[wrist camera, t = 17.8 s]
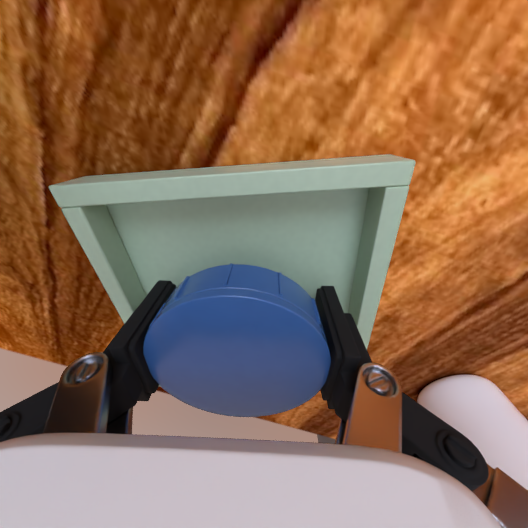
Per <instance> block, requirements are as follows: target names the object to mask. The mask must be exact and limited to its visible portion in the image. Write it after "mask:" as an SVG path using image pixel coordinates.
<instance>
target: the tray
mask: <svg viewBox="0 0 528 528" xmlns="http://www.w3.org/2000/svg"><path fill="white" fill-rule="evenodd" d="M414 166H415V160H412V159H407V158H403V157H399V156H394V155H390V154H386V155H372V156H358V157H344V158H330V159H316V160H303V161H289V162H275V163H261V164H247V165H234V166H220V167H206V168H192V169H178V170H164V171H151V172H137V173H123V174H109V175H95V176H84V177H80V178H78V179H73V180H69V181H65V182H62V183H58V184H54V185H50V186H49V189H50V191H51V193H52V195H53V197H54V198H55V200H56V202H57V204H58V206H59V207H62V209H61V210H62V212H63V214H64V216H65V218H66V219H67V221H68V223H69V225H70V227H71V228H72V230H73V232H74V234H75V236H76V237H77V239H78V241H79V243H80V245H81V246H82V248H83V250H84V252H85V254H86V255H87V257H88V259H89V261H90V263H91V264H92V266H93V268H94V270H95V272H96V273H97V275H98V277H99V279H100V281H101V282H102V284H103V286H104V288H105V290H106V291H107V293H108V295H109V297H110V299H111V300H112V302H113V304H114V306H115V308H116V309H117V311H118V313H119V315H120V317H121V318H122V320H123V322H124V324H125V323H126V321H127V320H128V319H129V317H130V316H131V315H132V313H133V312H134V311H135V309H136V308H137V307H139V305H140V304H141V303H142V301H143V300H144V299H145V297H146V296H147V295H148V293H149V292H150V291H151V289H152V288H153V287H154V285H155V284H156V283H157V281H159V280H165V281H171V282H172V283H173V284H175V285H176V287H177V286H178V285H179V284H180V283H181V282H182V281H184V279H185V278H186V276H191V275H193V274H195V273H197V272H199V271H202V270H205V269H207V268H211V267H215V266H220V265H229V264H230V263H233V264H245V265H253V266H259V267H263V268H267V269H270V270H273V271H275V272H278V273H279V272H281V273H282V275H284V276H286V277H288V278H290V279H291V280H293V281H294V282H296V283H297V284H299V285H300V286H301V287H302V288H303V289H304V290H305V291H306V292H307V293H308V294H309V295H310V296H311V298H314V299H315V297H316V291H317V289H318V288H321V286H334V288H335V291H336V293H337V296H338V298H339V301H340V303H341V306H342V309H343V311H344V313H350V314H351V315H352V317H353V319H354V321H355V324H356V326H357V328H358V331H359V333H360V335H361V338H362V340H363V342H364V345H365V347H366V349H367V347H368V343H369V340H370V336H371V332H372V328H373V324H374V320H375V317H376V313H377V309H378V305H379V301H380V297H381V294H382V290H383V286H384V282H385V278H386V274H387V271H388V267H389V263H390V259H391V255H392V251H393V248H394V244H395V240H396V236H397V232H398V228H399V225H400V221H401V217H402V213H403V209H404V206H405V202H406V198H407V194H408V190H409V186H407V185H409V184H410V182H411V178H412V174H413V170H414ZM159 386H160V385H159ZM160 387H161V386H160Z"/></svg>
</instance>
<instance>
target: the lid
mask: <svg viewBox="0 0 528 528" xmlns="http://www.w3.org/2000/svg"><path fill="white" fill-rule="evenodd" d="M143 354H144V357H145V360H146V363H147V365H148V368H149V370H150V373H151V375H152V377H153V378H154V379H155V380H156V382H157V383H158V384H159V385H160V386H161V387H162V388H163V389H164V390H166V391H167V392H168V393H170V394H171V395H172V396H174V397H176V398H177V399H179V400H180V401H182V402H184V403H186V404H188V405H191V406H193V407H196V408H198V409H201V410H204V411H207V412H212V413H216V414H222V415H227V416H236V417H258V416H267V415H272V414H277V413H281V412H285V411H288V410H290V409H293V408H295V407H297V406H300V405H302V404H303V403H305V402H307V401H308V400H310V399H311V398H312V397H313V396H315V395H316V394H317V393H318V392H319V391H320V390H321V388H322V387H323V386H324V384H325V383H326V380H327V376H328V372H329V369H330V364H331V356H330V351H329V347H328V343H327V339H326V335H325V332H324V328H323V324H322V320H321V316H320V313H319V311H318V308H317V306H316V302H315V299H314V298H311V296H310V295H309V294H308V293H307V292H306V291H305V290H304V289H303V288H302V287H301V286H300V285H299V284H297V283H296V282H294V281H293V280H291V279H290V278H288V277H286V276H284V275H282V273H281V272H279V273H278V272H275V271H273V270H270V269H267V268H263V267H259V266H253V265H245V264H233V263H230V264H229V265H220V266H215V267H211V268H207V269H205V270H202V271H199V272H197V273H195V274H193V275H191V276H186V278H185V279H184V281H182V282H181V283H180V284H179V285H178V286H177V287H176V288H175V289H174V291H173V292H172V294H171V295H170V296H169V298H168V300H167V301H166V303H164V304H163V305H162V307H161V309H160V310H159V312H158V313H157V315H156V316H155V318H154V319H153V321H152V323H151V324H150V326H149V329H148V332H147V334H146V336H145V340H144V345H143Z"/></svg>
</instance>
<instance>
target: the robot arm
mask: <svg viewBox="0 0 528 528" xmlns="http://www.w3.org/2000/svg"><path fill="white" fill-rule="evenodd" d="M175 288H176V285H175V284H173V283H172V282H171V281H165V280H159V281H157V283H156V284H155V285H154V287H153V288H152V289H151V291H150V292H149V293H148V295H147V296H146V297H145V299H144V300H143V301H142V303H141V304H140V305H139V307H137V308H136V309H135V311H134V312H133V313H132V315H131V316H130V317H129V319H128V320H127V321H126V323H125V324H124V325H123V327H122V328H121V329H120V331H119V332H118V333H117V335H116V336H115V337H114V339H113V340H112V341H111V342H110V344H109V345H108V346H107V348H106V349H105V350H104V352H103V353H102V352H94V353H89V354H86V355H84V356H81V357H80V358H78V359H76V360H75V361H73V362H72V363H71V364H70V365H68V367H67V368H66V369H65V370H64V372H63V373H62V375H61V378H60V381H59V382H58V383H56V384H54V385H52V386H50V387H48V388H46V389H44V390H43V391H40V392H39V393H37V394H35V395H33V396H31V397H29V398H27V399H25V400H23V401H21V402H19V403H17V404H15V405H13V406H11V407H10V408H8V409H6V410H4V411H2V412H0V528H528V490H527V489H525V488H524V487H523V486H521V485H520V484H519V483H517V482H516V481H515V480H514V479H512V478H511V477H510V476H508V475H507V474H506V473H504V472H503V471H502V470H500V469H499V468H498V467H496V468H495V469H493V468H492V467H491V466H489V465H488V464H487V463H486V461H485V459H484V457H483V456H482V454H481V452H480V451H479V449H478V448H477V447H476V446H475V445H474V444H473V443H472V442H471V441H470V440H469V439H468V438H467V437H465V436H464V435H463V434H462V433H460V432H459V431H457V430H456V429H454V428H453V427H452V426H450V425H449V424H447V423H446V422H444V421H443V420H442V419H440V418H439V417H437V416H436V415H434V414H433V413H432V412H430V411H429V410H427V409H426V408H424V407H423V406H422V405H420V404H419V403H417V402H416V401H414V400H413V399H411V398H410V397H409V396H407V395H406V394H404V393H403V392H402V387H401V383H400V381H399V379H398V378H397V377H396V375H395V374H394V373H393V372H392V371H391V370H389V369H388V368H386V367H385V366H383V365H380V364H377V363H372V361H371V359H370V356H369V354H368V352H367V349H366V347H365V345H364V342H363V340H362V338H361V335H360V333H359V331H358V328H357V326H356V324H355V321H354V319H353V317H352V315H351V314H350V313H344V311H343V309H342V306H341V303H340V301H339V298H338V296H337V293H336V291H335V288H334V286H321V288H318V289H317V291H316V297H315V302H316V306H317V308H318V311H319V313H320V316H321V320H322V324H323V328H324V332H325V335H326V339H327V343H328V347H329V351H330V356H331V364H330V369H329V372H328V376H327V380H326V383H325V384H324V386H323V387H322V388H321V394H322V398H323V400H327V404H328V409H335V413H336V414H337V415H338V416H339V417H340V423H339V428H338V432H337V437H336V441H335V444H326V443H309V442H289V441H270V440H248V439H227V438H206V437H181V436H158V435H133V434H132V414H133V406H135V404H136V403H137V401H148V400H149V398H150V396H151V394H152V393H155V392H156V390H157V388H158V386H159V384H158V383H157V382H156V380H155V379H154V378H153V377H152V375H151V373H150V370H149V368H148V365H147V363H146V360H145V357H144V354H143V345H144V340H145V336H146V334H147V332H148V329H149V326H150V324H151V323H152V321H153V319H154V318H155V316H156V315H157V313H158V312H159V310H160V309H161V307H162V305H163V304H164V303H166V301H167V300H168V298H169V296H170V295H171V294H172V292H173V291H174V289H175Z"/></svg>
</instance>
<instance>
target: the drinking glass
mask: <svg viewBox="0 0 528 528" xmlns="http://www.w3.org/2000/svg"><path fill="white" fill-rule="evenodd" d="M417 403H419V404H420V405H422V406H423V407H424V408H426V409H427V410H429V411H430V412H432V413H433V414H434V415H436V416H437V417H439V418H440V419H442V420H443V421H444V422H446V423H447V424H449V425H450V426H452V427H453V428H454V429H456V430H457V431H459V432H460V433H462V434H463V435H464V436H465V437H467V438H468V439H469V440H470V441H471V442H472V443H473V444H474V445H475V446H476V447H477V448H478V449H479V451H480V452H481V454H482V456H483V457H484V459H485V461H486V463H487V464H488V465H489V466H491V467H492V468H493V469H495V468H496V467H498V468H499V469H500V470H502V471H503V472H504V473H506V474H507V475H508V476H510V477H511V478H512V479H514V480H515V481H516V482H517V483H519V484H520V485H521V486H523V487H524V488H525V489H527V490H528V420H527V419H526V418H525V417H524V416H523V415H522V414H521V413H520V412H519V410H518V409H517V408H516V407H515V406H514V405H513V404H512V402H511V401H510V400H509V399H508V398H507V397H506V396H505V394H504V393H503V392H502V391H501V390H500V389H499V388H498V387H497V386H496V385H495V384H494V383H493V382H491V381H490V380H488V379H486V378H484V377H481V376H477V375H469V374H462V375H453V376H448V377H444V378H441V379H439V380H436V381H434V382H432V383H430V384H429V385H427V386H426V387H425V388H424V389H422V391H421V392H420V393H419V395H418V398H417Z"/></svg>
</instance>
